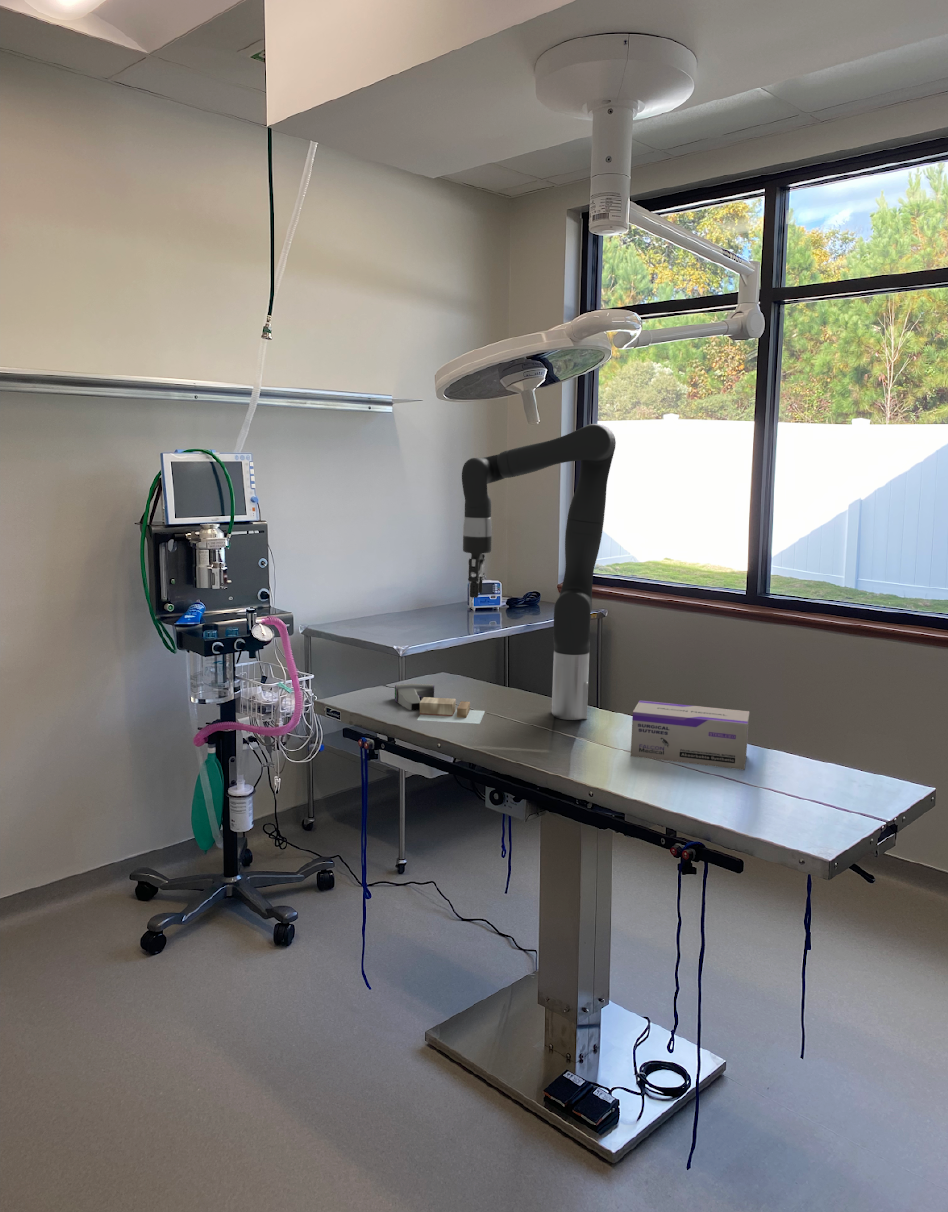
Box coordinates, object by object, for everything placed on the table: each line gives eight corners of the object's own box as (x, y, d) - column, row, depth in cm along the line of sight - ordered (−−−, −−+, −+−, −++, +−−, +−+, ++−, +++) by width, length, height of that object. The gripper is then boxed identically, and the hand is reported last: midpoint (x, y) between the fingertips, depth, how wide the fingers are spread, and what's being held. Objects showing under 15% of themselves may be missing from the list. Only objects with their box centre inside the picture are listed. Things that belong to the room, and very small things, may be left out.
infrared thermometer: (407, 717, 243) (391, 699, 257) (450, 713, 248) (432, 696, 261) (407, 700, 242) (391, 683, 256) (451, 697, 247) (433, 680, 260)
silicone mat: (485, 713, 244) (485, 710, 244) (479, 726, 233) (479, 723, 232) (425, 709, 246) (425, 707, 246) (416, 722, 234) (416, 720, 234)
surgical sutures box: (630, 757, 212) (632, 711, 210) (637, 743, 222) (639, 700, 220) (744, 770, 204) (747, 723, 202) (746, 756, 214) (749, 711, 212)
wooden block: (455, 698, 243) (423, 697, 244) (452, 704, 238) (419, 702, 239) (455, 710, 244) (423, 708, 245) (452, 716, 238) (419, 714, 240)
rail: (469, 710, 244) (469, 701, 244) (466, 717, 237) (466, 708, 237) (460, 710, 244) (460, 701, 244) (456, 717, 238) (457, 708, 237)
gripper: (488, 537, 238) (487, 599, 240) (494, 532, 252) (492, 591, 254) (459, 536, 239) (458, 598, 241) (466, 531, 253) (465, 590, 255)
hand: (476, 595), depth 248 cm, fingers open, 8 cm apart
